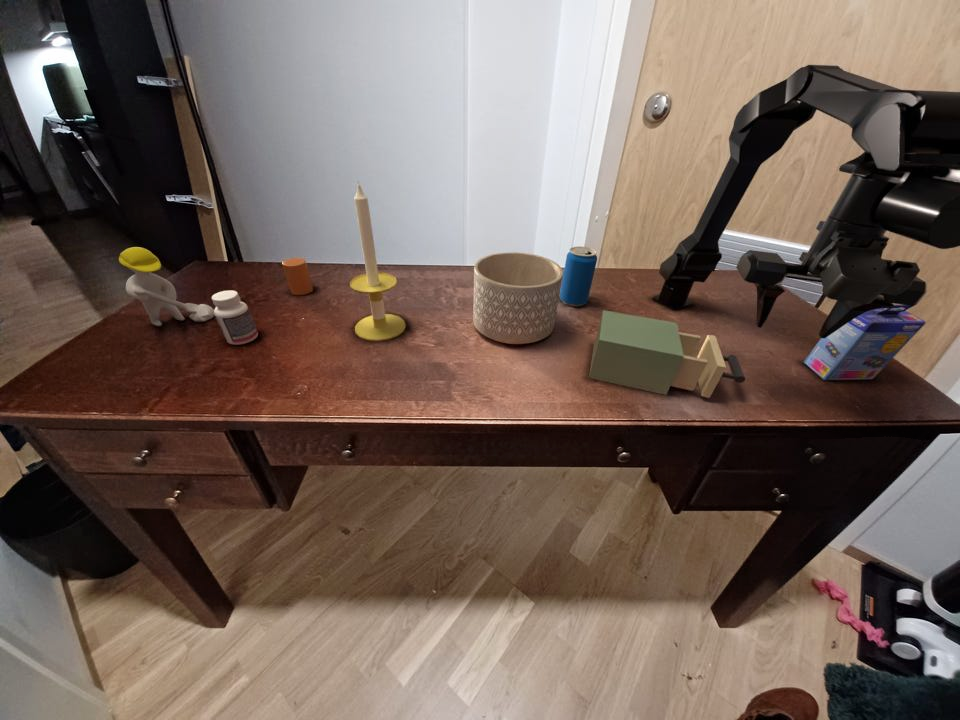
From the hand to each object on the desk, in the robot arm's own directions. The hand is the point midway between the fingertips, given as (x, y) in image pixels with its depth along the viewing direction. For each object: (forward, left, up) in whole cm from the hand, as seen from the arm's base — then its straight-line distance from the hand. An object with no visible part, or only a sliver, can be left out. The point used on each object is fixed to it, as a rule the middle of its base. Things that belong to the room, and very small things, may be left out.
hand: (789, 331), depth 53 cm
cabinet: (+13, -15, -12) cm, 23 cm away
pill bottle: (+71, -56, -12) cm, 91 cm away
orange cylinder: (+58, -72, -12) cm, 93 cm away
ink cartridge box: (-21, +4, -12) cm, 25 cm away
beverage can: (+4, -39, -12) cm, 41 cm away
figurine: (+81, -68, -12) cm, 106 cm away
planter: (+23, -36, -12) cm, 44 cm away
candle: (+47, -48, -12) cm, 68 cm away
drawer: (+7, -8, -11) cm, 16 cm away
